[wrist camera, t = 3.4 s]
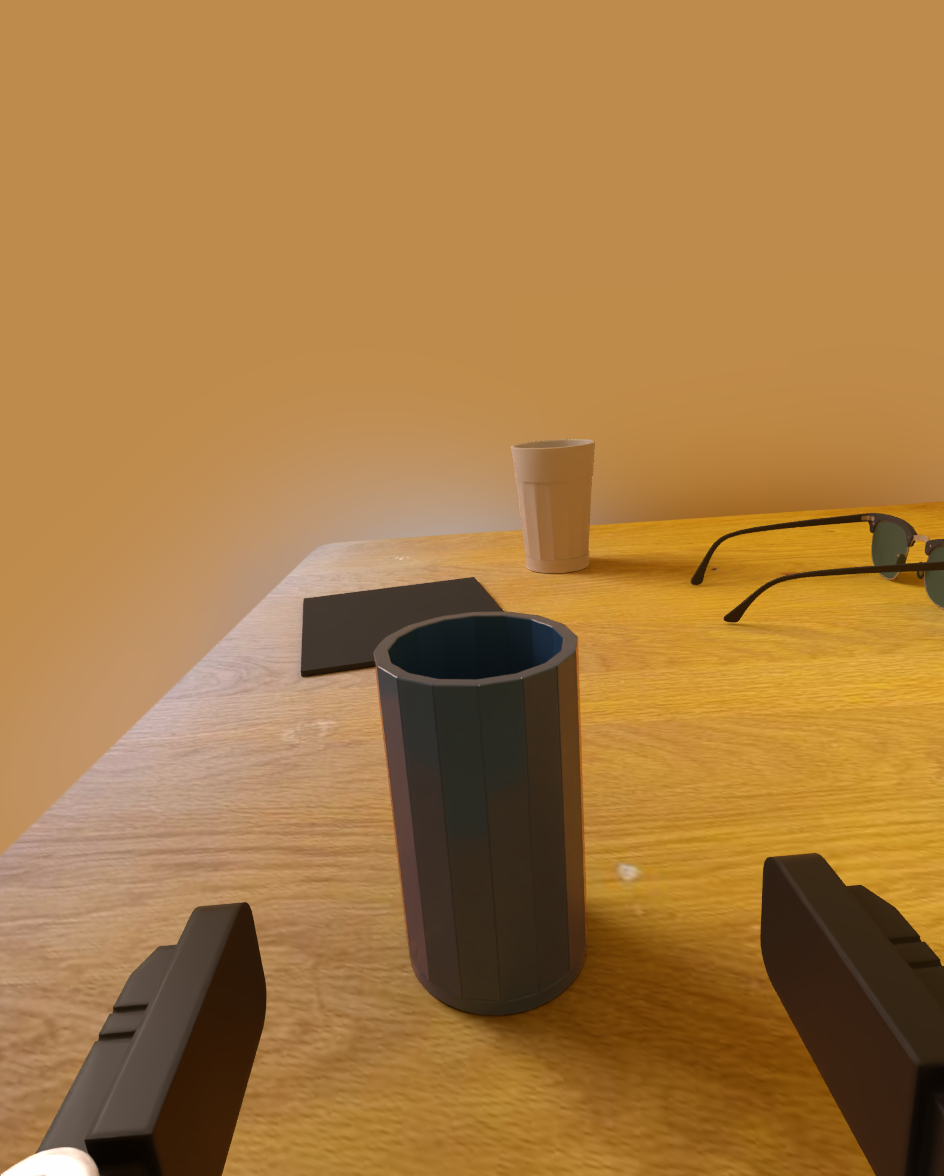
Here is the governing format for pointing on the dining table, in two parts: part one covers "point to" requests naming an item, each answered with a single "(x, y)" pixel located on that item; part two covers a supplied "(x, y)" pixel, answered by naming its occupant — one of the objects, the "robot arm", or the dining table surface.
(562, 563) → the cup
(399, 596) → the mat
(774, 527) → the sunglasses
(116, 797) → the dining table surface
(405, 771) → the tumbler
